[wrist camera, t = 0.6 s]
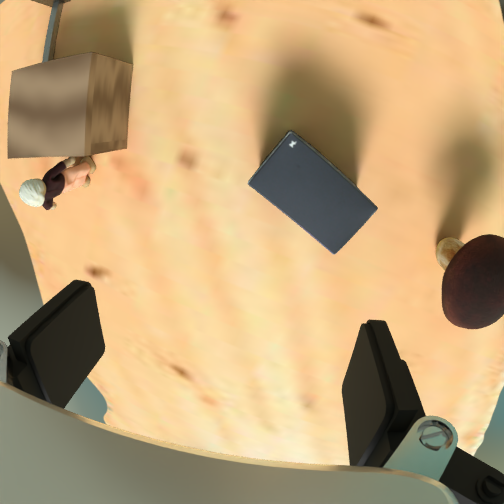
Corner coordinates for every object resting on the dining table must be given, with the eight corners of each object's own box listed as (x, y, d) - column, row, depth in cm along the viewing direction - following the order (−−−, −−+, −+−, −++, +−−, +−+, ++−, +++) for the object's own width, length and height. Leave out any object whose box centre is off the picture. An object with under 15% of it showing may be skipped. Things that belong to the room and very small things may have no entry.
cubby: (57, 75, 35) (12, 71, 26) (133, 64, 34) (92, 51, 25) (53, 149, 39) (7, 158, 30) (126, 148, 38) (84, 156, 29)
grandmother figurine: (80, 145, 39) (17, 157, 27) (101, 153, 39) (39, 167, 27) (68, 195, 41) (9, 220, 30) (88, 204, 42) (30, 232, 30)
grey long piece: (56, -14, 29) (29, -25, 23) (87, -25, 29) (61, -39, 22) (39, 79, 35) (7, 77, 29) (69, 73, 35) (38, 69, 28)
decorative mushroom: (412, 208, 37) (469, 250, 23) (481, 209, 35) (548, 248, 21) (404, 287, 41) (444, 355, 27) (470, 283, 39) (521, 341, 25)
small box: (255, 170, 38) (242, 184, 28) (290, 128, 35) (290, 126, 26) (323, 226, 39) (333, 259, 29) (358, 186, 37) (381, 207, 27)
